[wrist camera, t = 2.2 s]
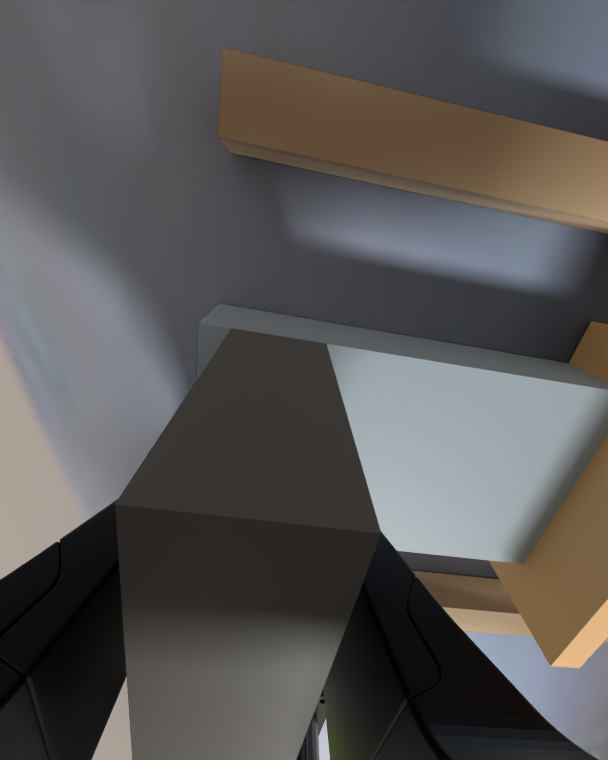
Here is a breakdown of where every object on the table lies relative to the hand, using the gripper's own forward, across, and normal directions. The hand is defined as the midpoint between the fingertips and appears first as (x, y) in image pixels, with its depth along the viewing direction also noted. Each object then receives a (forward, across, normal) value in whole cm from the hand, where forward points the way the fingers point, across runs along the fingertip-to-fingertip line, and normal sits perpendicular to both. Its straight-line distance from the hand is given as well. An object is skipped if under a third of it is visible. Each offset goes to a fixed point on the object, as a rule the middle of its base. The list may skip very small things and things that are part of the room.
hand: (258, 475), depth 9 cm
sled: (+4, -4, 0) cm, 6 cm away
